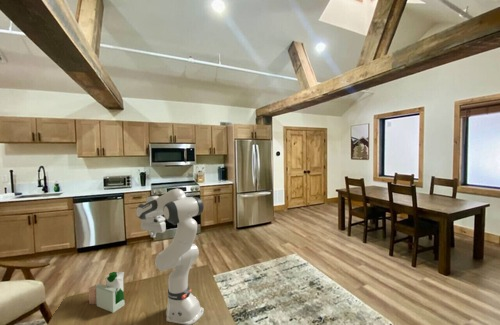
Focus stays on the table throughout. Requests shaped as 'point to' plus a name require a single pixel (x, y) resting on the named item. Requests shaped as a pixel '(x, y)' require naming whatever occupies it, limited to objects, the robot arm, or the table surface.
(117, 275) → the soya milk
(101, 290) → the display nook
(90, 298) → the terracotta jar
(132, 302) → the table surface
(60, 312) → the table surface
